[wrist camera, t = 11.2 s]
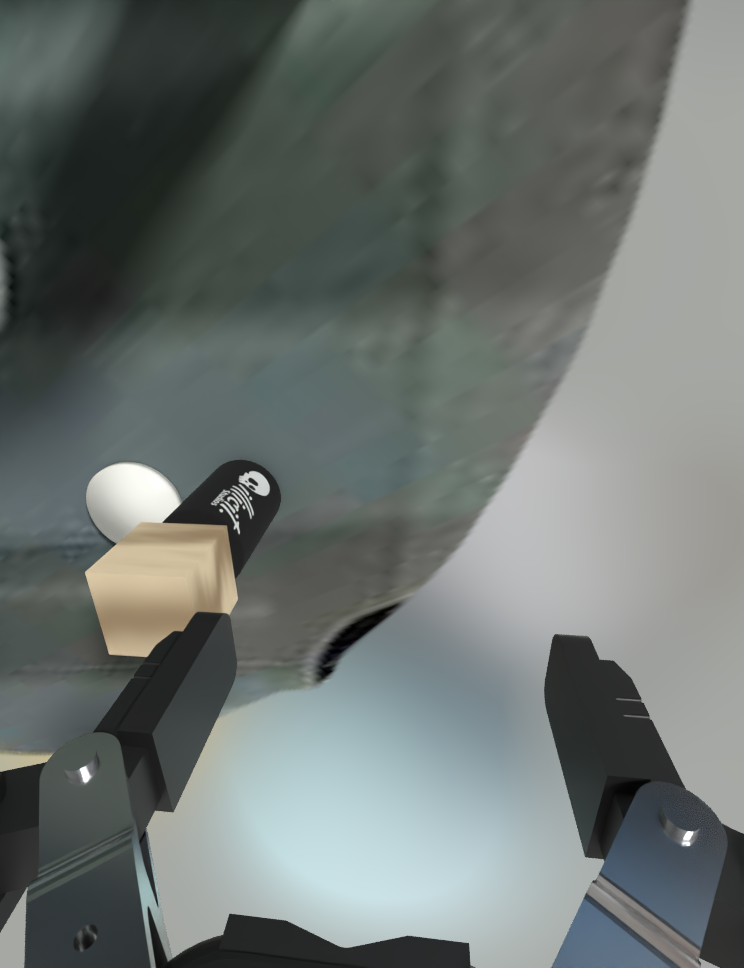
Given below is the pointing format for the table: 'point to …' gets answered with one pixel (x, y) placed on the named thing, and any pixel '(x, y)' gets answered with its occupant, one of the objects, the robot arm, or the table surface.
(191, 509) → the beverage can
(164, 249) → the table surface
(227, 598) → the oak cube
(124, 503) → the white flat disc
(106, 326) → the table surface
